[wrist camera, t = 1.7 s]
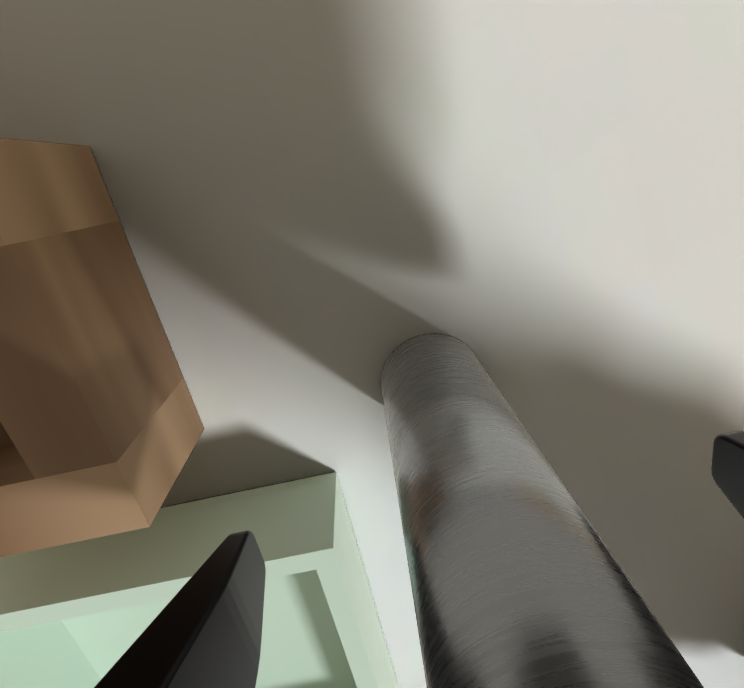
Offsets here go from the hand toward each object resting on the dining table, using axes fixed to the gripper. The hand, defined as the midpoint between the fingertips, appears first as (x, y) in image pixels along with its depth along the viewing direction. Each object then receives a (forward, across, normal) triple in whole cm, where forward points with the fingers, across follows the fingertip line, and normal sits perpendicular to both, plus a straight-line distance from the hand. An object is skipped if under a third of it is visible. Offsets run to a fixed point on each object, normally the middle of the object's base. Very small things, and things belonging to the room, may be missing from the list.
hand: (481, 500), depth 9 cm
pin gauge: (+5, 0, 0) cm, 5 cm away
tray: (+5, +9, +8) cm, 13 cm away
